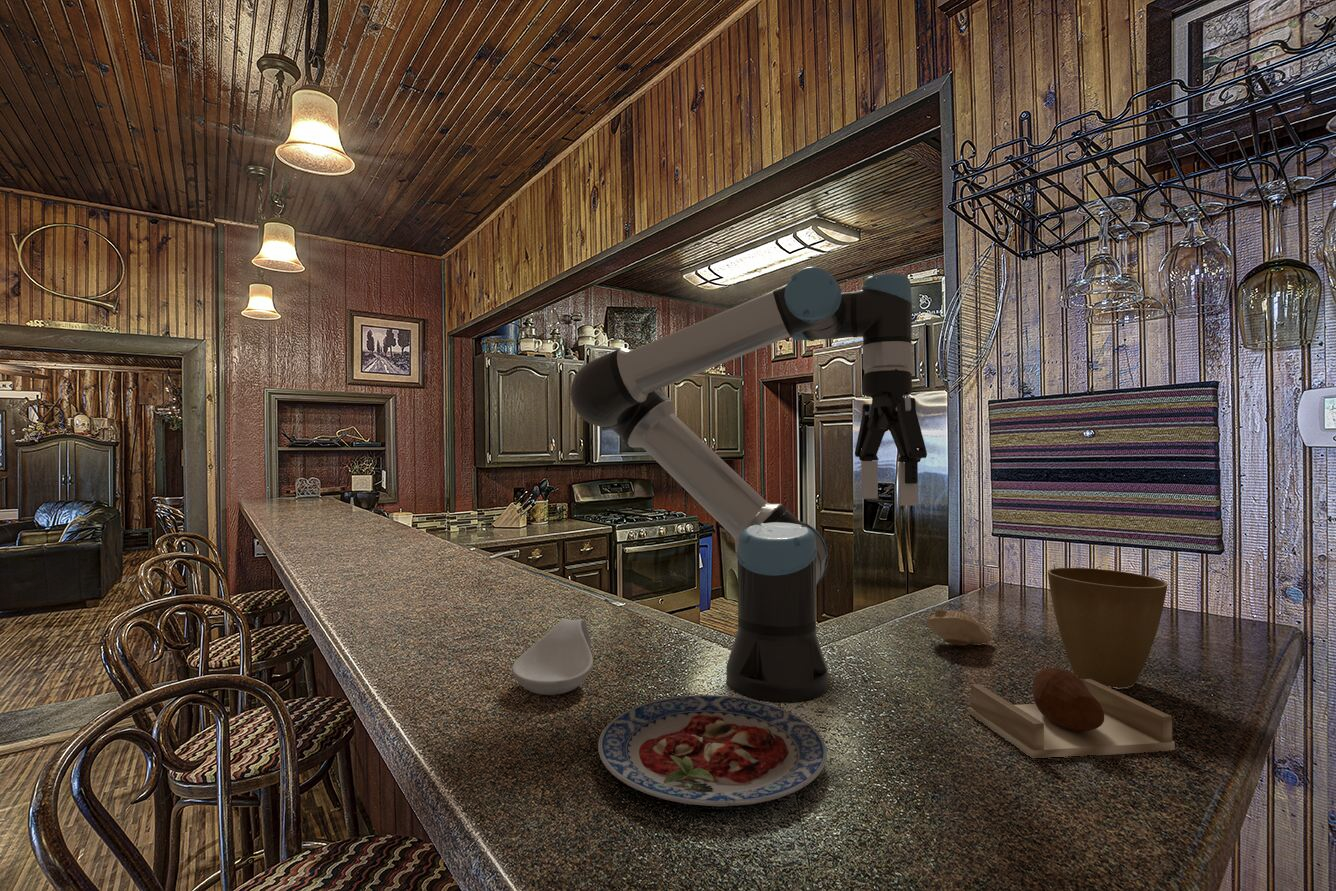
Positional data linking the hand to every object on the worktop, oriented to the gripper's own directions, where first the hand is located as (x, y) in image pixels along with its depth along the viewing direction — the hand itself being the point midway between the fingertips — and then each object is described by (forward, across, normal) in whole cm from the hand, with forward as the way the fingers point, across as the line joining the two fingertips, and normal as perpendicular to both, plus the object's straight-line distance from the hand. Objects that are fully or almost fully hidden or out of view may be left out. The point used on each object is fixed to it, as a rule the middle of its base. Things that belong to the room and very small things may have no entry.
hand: (887, 502), depth 101 cm
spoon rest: (+27, +3, +52) cm, 59 cm away
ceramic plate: (+27, -26, +34) cm, 51 cm away
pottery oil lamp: (+27, +8, -18) cm, 33 cm away
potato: (+26, -25, -11) cm, 37 cm away
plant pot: (+27, -10, -30) cm, 41 cm away
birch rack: (+27, -25, -11) cm, 38 cm away
